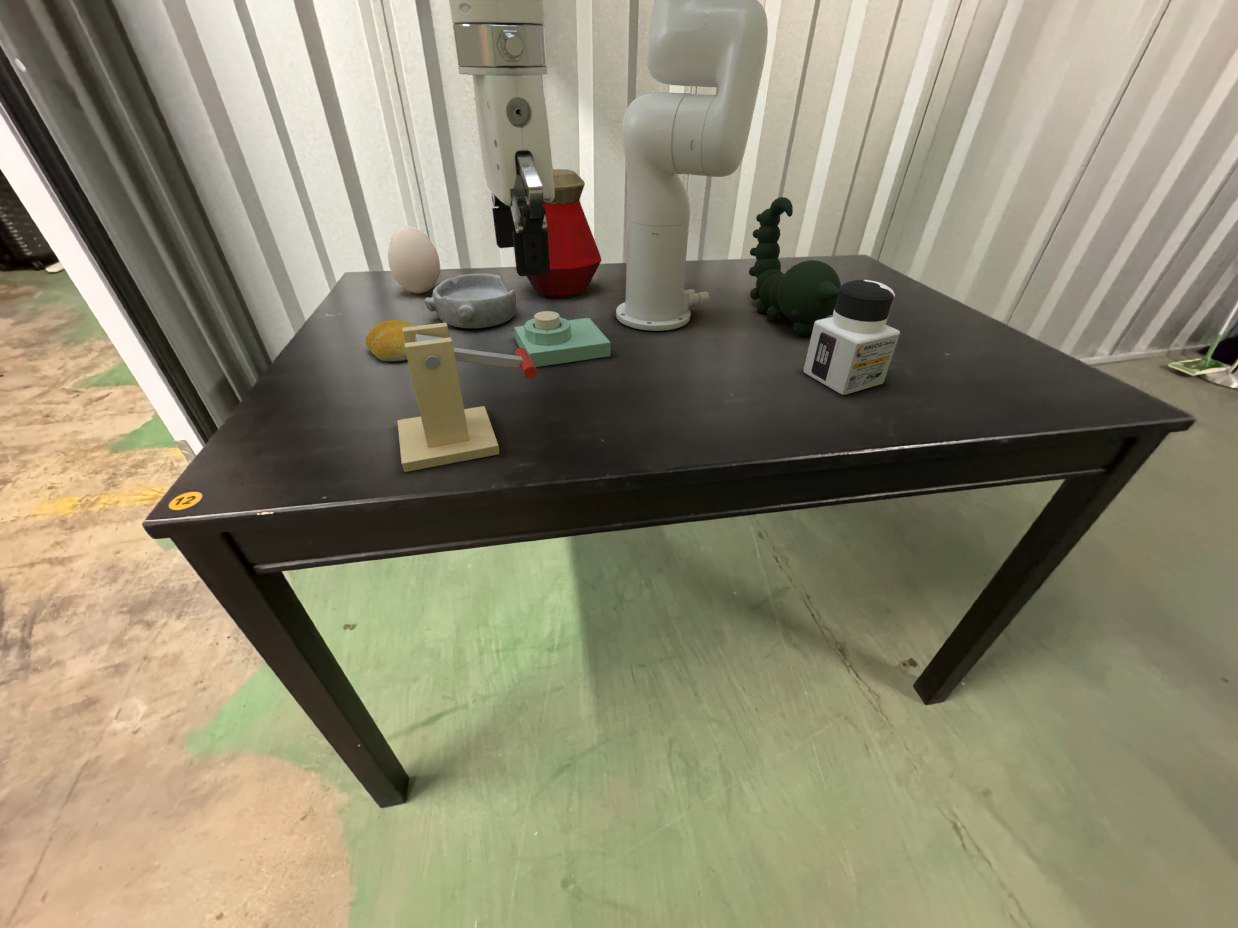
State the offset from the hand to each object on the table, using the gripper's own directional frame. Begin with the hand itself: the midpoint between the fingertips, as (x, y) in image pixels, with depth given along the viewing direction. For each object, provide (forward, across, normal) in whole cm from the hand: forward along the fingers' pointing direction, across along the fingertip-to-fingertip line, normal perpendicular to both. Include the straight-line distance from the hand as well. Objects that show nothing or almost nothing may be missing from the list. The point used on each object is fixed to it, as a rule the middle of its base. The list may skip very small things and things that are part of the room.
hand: (522, 259), depth 57 cm
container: (+19, -6, -42) cm, 46 cm away
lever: (+10, -3, +7) cm, 12 cm away
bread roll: (+19, +24, +15) cm, 34 cm away
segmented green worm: (+20, +15, -47) cm, 53 cm away
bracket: (+18, -3, +11) cm, 21 cm away
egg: (+19, +49, +10) cm, 53 cm away
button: (+15, +17, -6) cm, 23 cm away
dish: (+19, +34, +2) cm, 39 cm away
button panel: (+19, +16, -8) cm, 26 cm away
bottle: (+19, +41, -15) cm, 48 cm away
